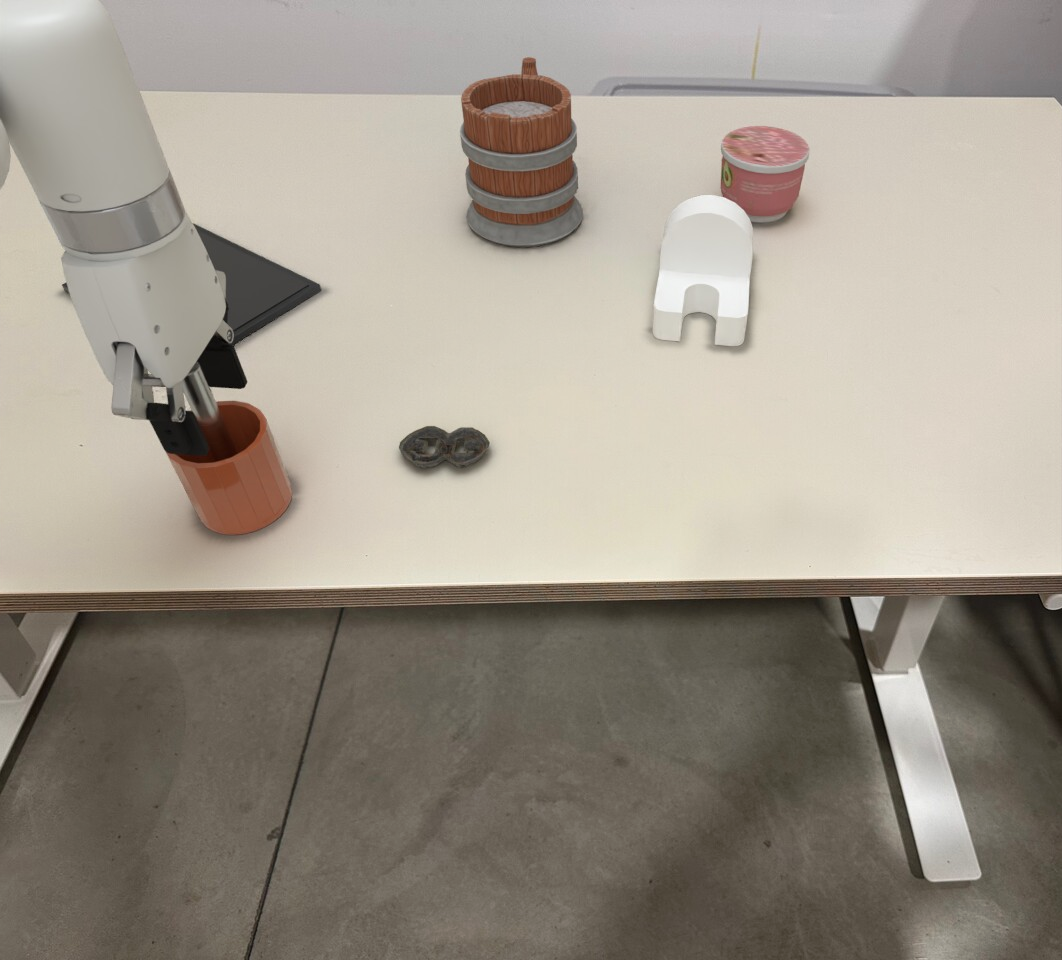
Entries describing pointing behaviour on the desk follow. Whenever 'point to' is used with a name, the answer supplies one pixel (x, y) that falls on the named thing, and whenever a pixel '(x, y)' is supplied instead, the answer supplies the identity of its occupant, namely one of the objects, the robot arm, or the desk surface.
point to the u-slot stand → (705, 268)
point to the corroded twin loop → (444, 446)
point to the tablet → (253, 285)
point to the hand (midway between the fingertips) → (208, 416)
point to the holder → (237, 476)
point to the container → (763, 170)
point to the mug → (520, 158)
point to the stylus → (208, 414)
